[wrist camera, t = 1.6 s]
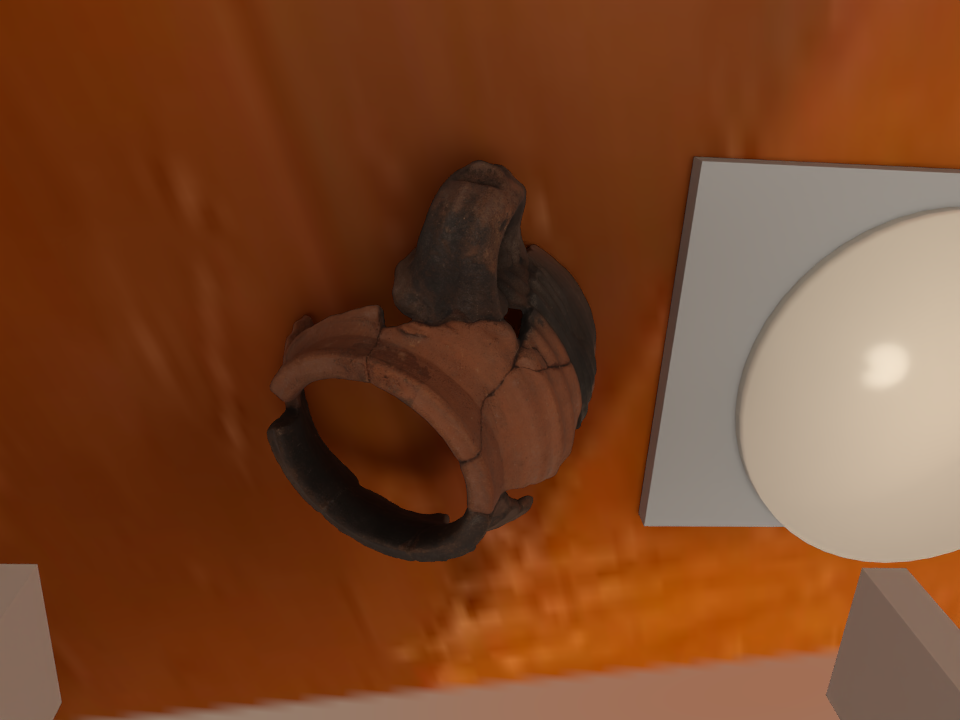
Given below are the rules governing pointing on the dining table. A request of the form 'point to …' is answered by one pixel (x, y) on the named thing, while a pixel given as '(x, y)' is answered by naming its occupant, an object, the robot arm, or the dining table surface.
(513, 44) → the dining table surface
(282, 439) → the broken terracotta ring
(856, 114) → the dining table surface
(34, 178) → the dining table surface
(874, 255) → the cream round plate
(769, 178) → the felt placemat
